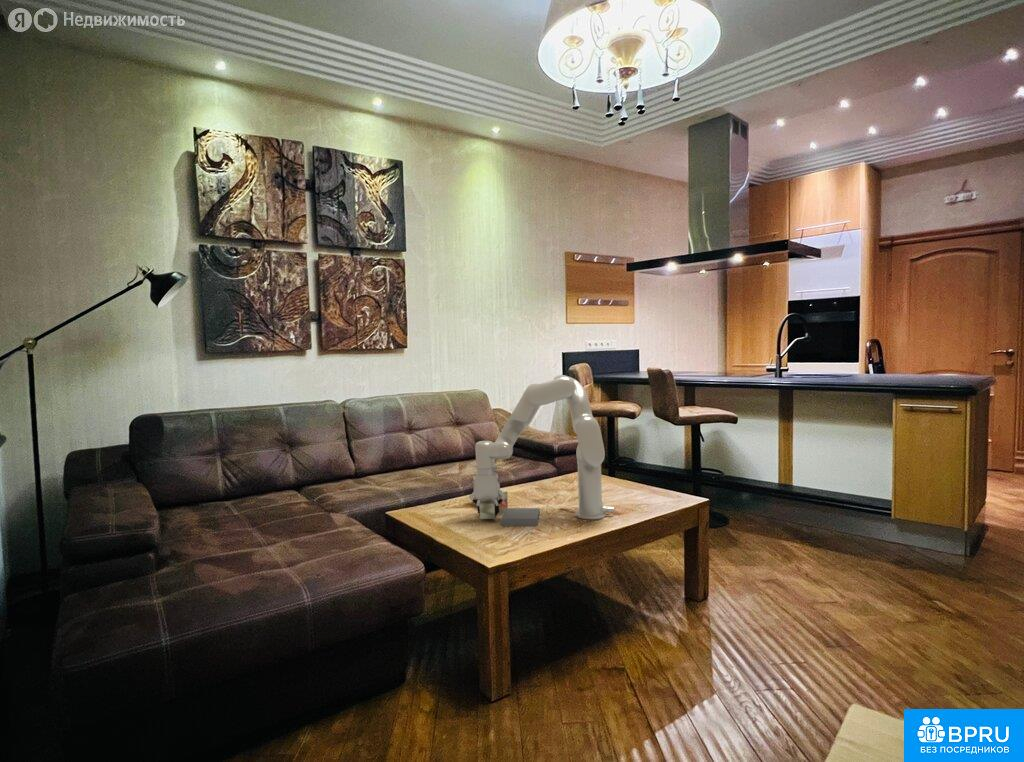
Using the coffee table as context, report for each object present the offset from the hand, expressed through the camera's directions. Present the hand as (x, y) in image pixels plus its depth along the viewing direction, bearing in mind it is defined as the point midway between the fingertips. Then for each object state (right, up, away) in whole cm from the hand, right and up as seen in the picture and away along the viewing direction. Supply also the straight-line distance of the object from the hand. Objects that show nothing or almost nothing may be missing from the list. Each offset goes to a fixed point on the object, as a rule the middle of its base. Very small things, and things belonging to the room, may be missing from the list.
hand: (488, 514), depth 224 cm
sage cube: (0, -1, 0) cm, 1 cm away
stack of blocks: (0, -2, +18) cm, 18 cm away
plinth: (+13, -2, -2) cm, 14 cm away
